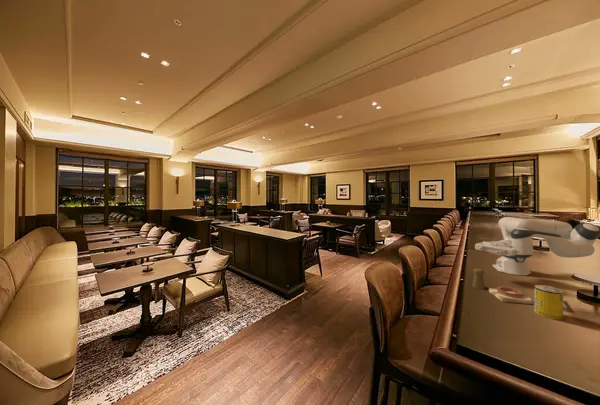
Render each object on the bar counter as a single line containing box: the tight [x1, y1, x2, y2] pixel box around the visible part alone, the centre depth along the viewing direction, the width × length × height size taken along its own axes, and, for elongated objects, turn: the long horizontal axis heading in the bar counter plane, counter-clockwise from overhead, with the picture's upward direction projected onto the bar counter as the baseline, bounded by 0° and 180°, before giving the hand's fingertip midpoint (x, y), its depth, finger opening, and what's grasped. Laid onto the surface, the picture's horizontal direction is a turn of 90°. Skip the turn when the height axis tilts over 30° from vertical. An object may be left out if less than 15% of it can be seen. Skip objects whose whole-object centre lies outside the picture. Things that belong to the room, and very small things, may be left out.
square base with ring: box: [488, 286, 534, 305], centre depth 122 cm, size 13×13×4 cm
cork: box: [471, 267, 486, 290], centre depth 136 cm, size 6×6×11 cm
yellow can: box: [533, 284, 564, 321], centre depth 105 cm, size 9×9×12 cm
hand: (489, 250), depth 141 cm, fingers open, 8 cm apart
